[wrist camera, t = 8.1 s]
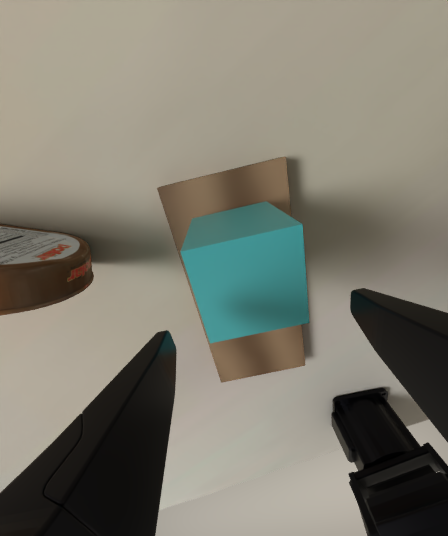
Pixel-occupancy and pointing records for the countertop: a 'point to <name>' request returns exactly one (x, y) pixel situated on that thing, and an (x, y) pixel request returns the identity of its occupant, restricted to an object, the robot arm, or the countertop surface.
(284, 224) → the teal block
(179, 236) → the walnut board
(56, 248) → the tin
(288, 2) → the countertop surface
